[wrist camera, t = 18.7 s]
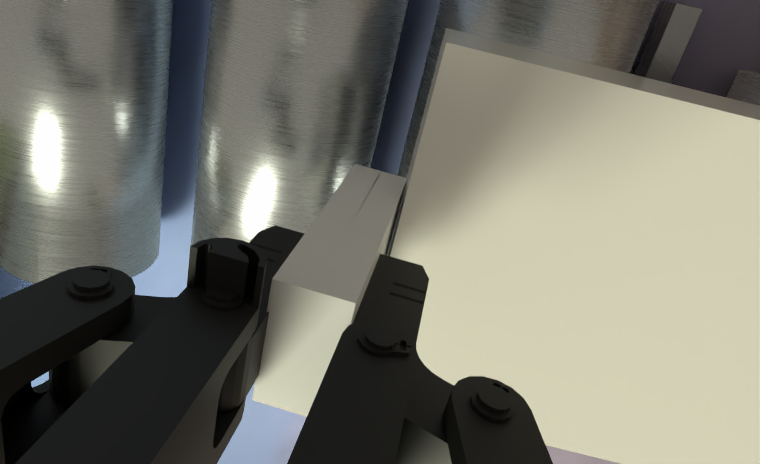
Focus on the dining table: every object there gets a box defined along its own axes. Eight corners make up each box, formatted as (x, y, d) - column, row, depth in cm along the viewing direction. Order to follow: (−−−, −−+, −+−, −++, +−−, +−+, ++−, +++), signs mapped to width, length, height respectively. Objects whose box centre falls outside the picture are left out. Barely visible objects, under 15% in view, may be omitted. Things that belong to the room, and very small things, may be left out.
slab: (445, 27, 15) (446, 42, 12) (1045, 176, 15) (1178, 224, 12) (365, 336, 19) (352, 397, 16) (829, 450, 19) (892, 530, 16)
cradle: (663, 1, 19) (676, 2, 18) (941, 69, 18) (977, 76, 17) (526, 335, 25) (528, 356, 24) (731, 395, 25) (745, 419, 23)
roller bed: (54, -149, 21) (-102, -193, 15) (633, -7, 19) (689, 0, 14) (63, 202, 27) (-46, 259, 21) (504, 329, 25) (506, 425, 20)
